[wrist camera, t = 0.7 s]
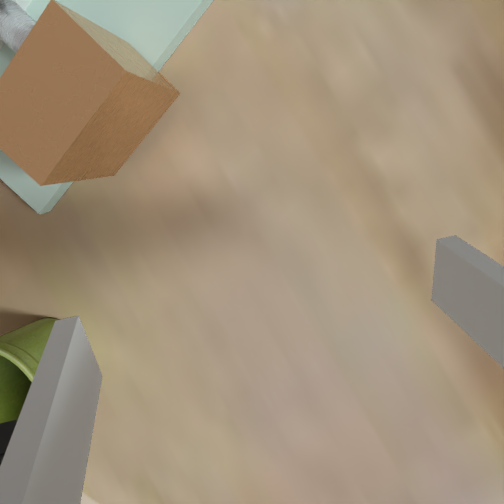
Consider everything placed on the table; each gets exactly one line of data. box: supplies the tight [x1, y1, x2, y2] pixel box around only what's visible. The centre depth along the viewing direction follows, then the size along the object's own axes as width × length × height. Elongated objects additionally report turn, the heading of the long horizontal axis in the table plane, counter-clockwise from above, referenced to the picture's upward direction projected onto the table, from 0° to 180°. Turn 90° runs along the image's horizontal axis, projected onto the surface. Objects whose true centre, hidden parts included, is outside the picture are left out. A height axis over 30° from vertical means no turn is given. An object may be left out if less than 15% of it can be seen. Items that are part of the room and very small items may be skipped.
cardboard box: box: [0, 0, 180, 186], centre depth 26 cm, size 8×13×9 cm, turn 47°
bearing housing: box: [0, 0, 213, 214], centre depth 27 cm, size 22×16×9 cm
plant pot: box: [0, 318, 58, 423], centre depth 34 cm, size 9×9×9 cm
